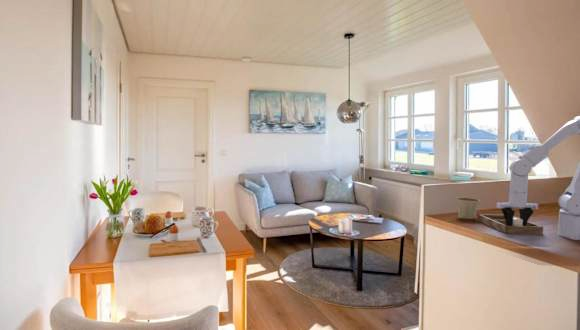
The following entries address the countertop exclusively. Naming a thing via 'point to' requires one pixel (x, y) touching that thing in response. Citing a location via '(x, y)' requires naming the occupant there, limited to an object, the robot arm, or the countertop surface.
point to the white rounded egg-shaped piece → (517, 222)
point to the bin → (500, 224)
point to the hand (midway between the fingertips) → (515, 227)
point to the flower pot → (467, 207)
